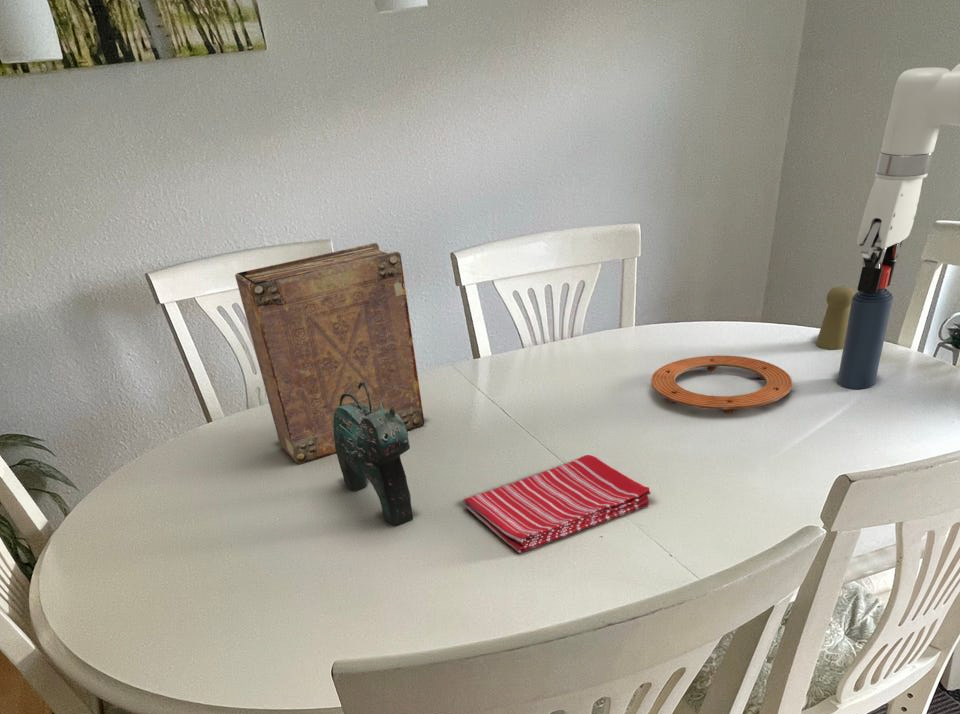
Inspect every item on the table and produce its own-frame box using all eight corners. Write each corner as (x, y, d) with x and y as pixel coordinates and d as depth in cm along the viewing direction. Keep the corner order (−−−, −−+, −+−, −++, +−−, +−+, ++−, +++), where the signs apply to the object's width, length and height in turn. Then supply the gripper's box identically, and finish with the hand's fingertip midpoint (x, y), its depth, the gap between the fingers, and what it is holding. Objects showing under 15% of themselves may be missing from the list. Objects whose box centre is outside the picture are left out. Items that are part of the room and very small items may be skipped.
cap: (868, 282, 136) (872, 263, 134) (891, 284, 133) (895, 266, 131) (857, 288, 134) (861, 269, 132) (880, 290, 131) (884, 271, 130)
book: (403, 410, 152) (378, 242, 133) (425, 425, 145) (401, 251, 126) (280, 447, 143) (234, 273, 124) (296, 465, 136) (251, 284, 118)
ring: (765, 361, 156) (767, 348, 154) (811, 411, 136) (813, 397, 135) (639, 372, 157) (639, 360, 155) (666, 424, 137) (667, 411, 135)
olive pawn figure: (814, 348, 159) (825, 291, 152) (816, 338, 163) (827, 283, 156) (846, 350, 157) (858, 292, 150) (848, 340, 161) (859, 283, 154)
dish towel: (655, 504, 116) (656, 488, 114) (520, 556, 108) (519, 540, 106) (588, 463, 128) (588, 448, 126) (462, 507, 120) (460, 492, 118)
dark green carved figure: (425, 521, 118) (406, 393, 105) (387, 536, 115) (363, 406, 103) (367, 475, 131) (344, 356, 119) (332, 488, 129) (305, 368, 116)
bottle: (881, 379, 144) (905, 267, 132) (864, 391, 140) (887, 277, 128) (847, 373, 148) (868, 264, 135) (830, 384, 144) (850, 273, 132)
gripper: (903, 155, 129) (874, 274, 140) (854, 172, 120) (828, 297, 132) (950, 158, 124) (916, 280, 136) (903, 176, 116) (871, 304, 127)
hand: (873, 287), depth 134 cm, fingers closed on cap, 3 cm apart
